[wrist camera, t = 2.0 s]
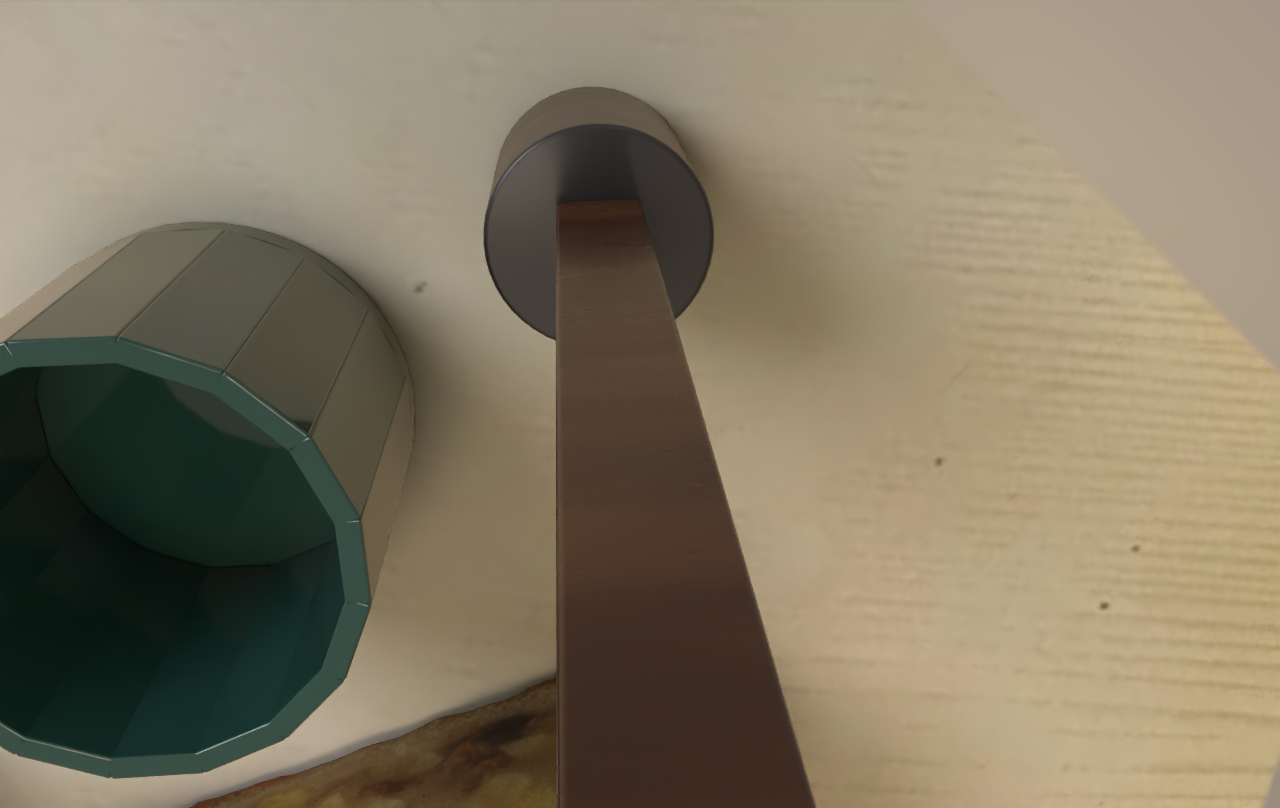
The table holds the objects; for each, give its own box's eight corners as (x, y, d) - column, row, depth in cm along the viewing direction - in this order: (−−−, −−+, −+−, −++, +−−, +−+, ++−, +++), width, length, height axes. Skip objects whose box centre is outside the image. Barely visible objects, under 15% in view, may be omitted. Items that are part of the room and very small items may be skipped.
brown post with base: (488, 89, 26) (266, 697, 6) (687, 83, 27) (1113, 648, 6) (501, 281, 28) (363, 1256, 8) (688, 273, 28) (1025, 1202, 8)
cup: (-9, 228, 27) (-223, 350, 19) (396, 213, 27) (336, 327, 20) (73, 576, 30) (-82, 791, 23) (431, 557, 31) (392, 763, 23)
